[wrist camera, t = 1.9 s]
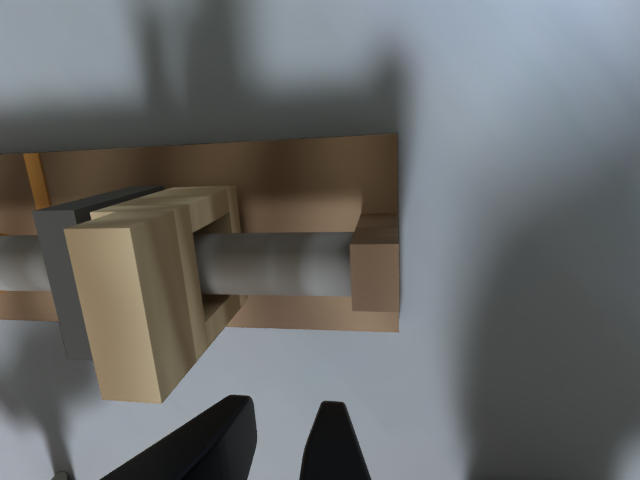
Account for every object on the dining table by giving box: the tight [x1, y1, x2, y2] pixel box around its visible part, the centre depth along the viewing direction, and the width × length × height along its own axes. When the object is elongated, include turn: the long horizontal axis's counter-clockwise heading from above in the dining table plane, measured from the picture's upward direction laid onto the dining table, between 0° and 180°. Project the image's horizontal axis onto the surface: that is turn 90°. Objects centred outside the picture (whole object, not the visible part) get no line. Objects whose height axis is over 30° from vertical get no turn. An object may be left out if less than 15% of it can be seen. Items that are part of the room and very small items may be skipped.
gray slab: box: [32, 185, 164, 360], centre depth 17 cm, size 2×6×6 cm, turn 4°
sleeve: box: [64, 185, 248, 404], centre depth 16 cm, size 3×5×8 cm, turn 3°
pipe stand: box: [0, 133, 399, 332], centre depth 19 cm, size 23×9×6 cm, turn 93°
